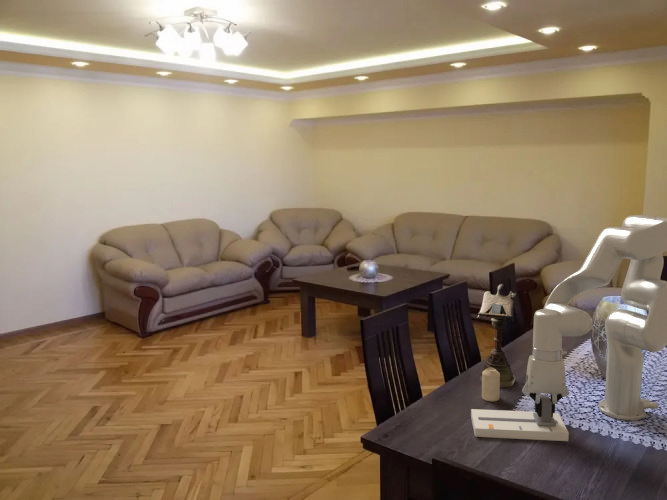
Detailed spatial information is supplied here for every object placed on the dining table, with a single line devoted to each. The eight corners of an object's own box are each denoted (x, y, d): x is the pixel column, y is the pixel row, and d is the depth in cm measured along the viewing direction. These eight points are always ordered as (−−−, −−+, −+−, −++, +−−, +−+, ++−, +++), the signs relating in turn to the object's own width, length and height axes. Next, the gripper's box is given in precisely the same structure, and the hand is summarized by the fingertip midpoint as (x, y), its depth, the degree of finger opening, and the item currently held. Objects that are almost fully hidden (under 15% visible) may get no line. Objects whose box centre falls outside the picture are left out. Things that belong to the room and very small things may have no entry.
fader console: (557, 420, 161) (557, 412, 161) (568, 441, 149) (568, 432, 149) (471, 416, 165) (471, 408, 164) (475, 436, 153) (475, 428, 153)
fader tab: (550, 416, 158) (551, 394, 157) (556, 426, 152) (557, 403, 151) (533, 415, 159) (533, 393, 158) (537, 425, 153) (538, 402, 152)
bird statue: (513, 396, 178) (516, 292, 172) (473, 388, 184) (475, 288, 179) (522, 377, 192) (525, 281, 187) (485, 371, 199) (487, 278, 193)
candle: (500, 402, 174) (500, 372, 172) (482, 401, 175) (482, 371, 174) (498, 394, 179) (499, 366, 178) (481, 393, 181) (481, 365, 179)
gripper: (573, 349, 155) (570, 410, 158) (514, 348, 157) (512, 407, 160) (581, 359, 147) (578, 422, 150) (519, 357, 150) (517, 419, 153)
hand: (544, 414), depth 155 cm, fingers closed on fader tab, 2 cm apart
